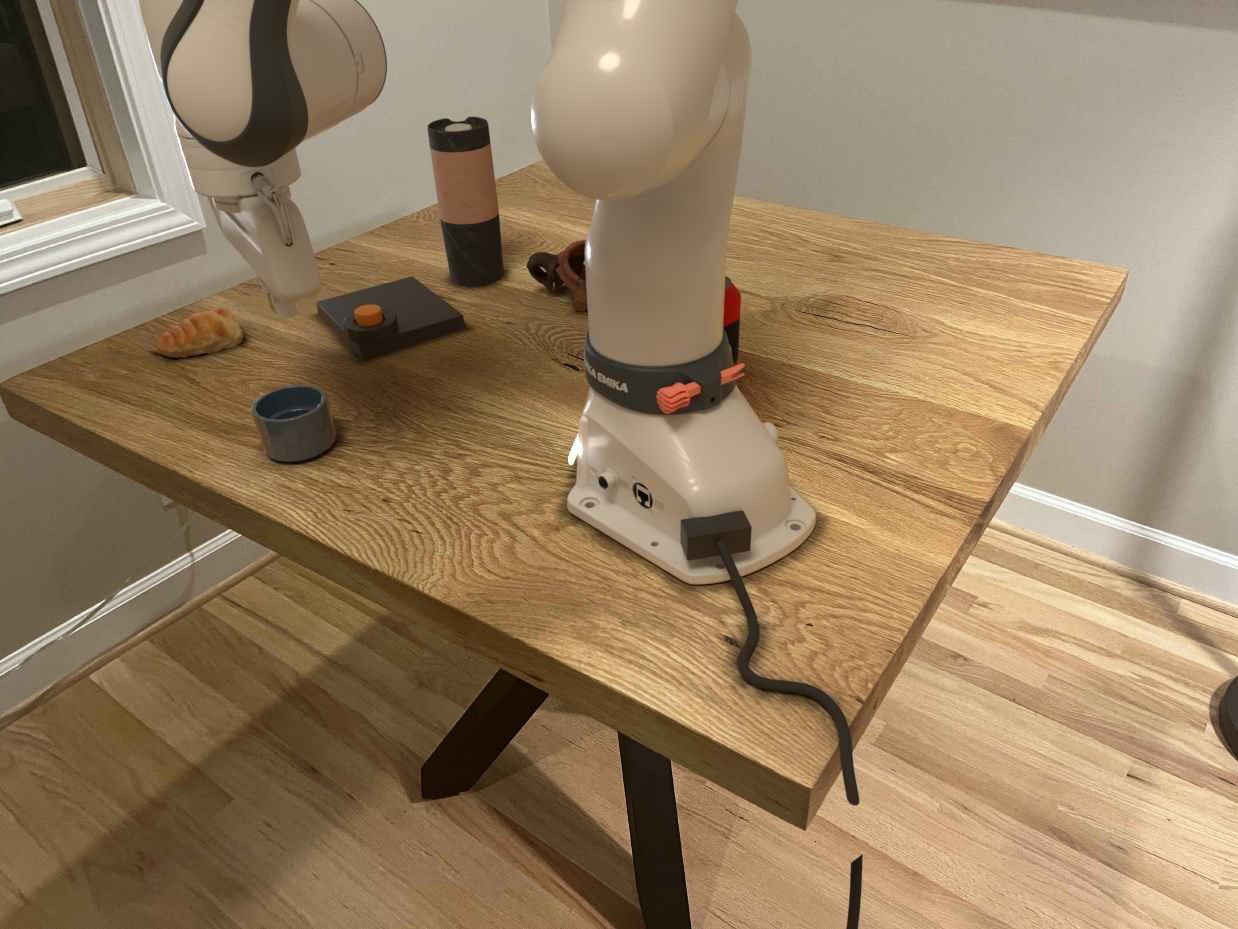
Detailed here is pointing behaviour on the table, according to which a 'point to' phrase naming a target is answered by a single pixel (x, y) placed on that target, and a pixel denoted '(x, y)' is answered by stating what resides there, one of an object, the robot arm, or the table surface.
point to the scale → (391, 317)
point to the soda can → (732, 317)
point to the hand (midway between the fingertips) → (283, 312)
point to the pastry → (200, 334)
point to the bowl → (294, 423)
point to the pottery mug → (562, 271)
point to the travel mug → (467, 200)
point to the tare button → (368, 315)
